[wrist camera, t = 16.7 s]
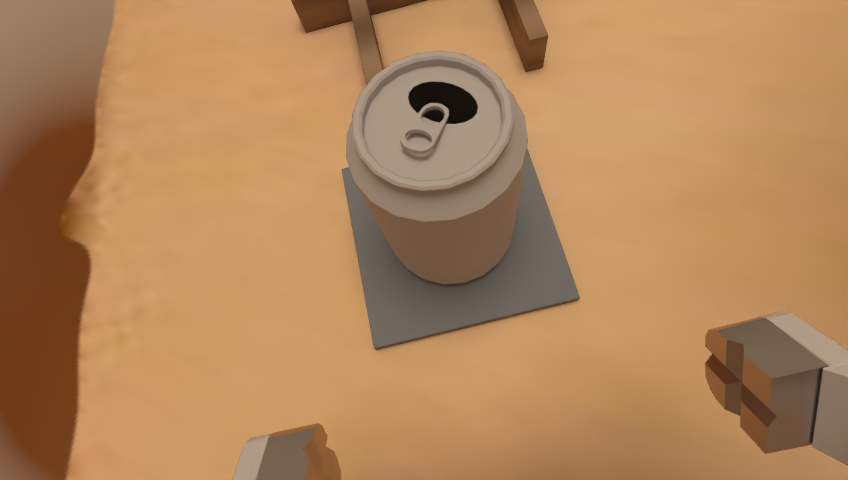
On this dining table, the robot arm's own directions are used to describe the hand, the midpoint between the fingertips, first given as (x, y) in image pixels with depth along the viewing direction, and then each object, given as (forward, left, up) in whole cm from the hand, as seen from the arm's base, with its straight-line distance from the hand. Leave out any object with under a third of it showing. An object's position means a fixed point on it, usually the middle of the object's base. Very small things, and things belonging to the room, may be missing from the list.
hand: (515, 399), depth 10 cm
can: (-9, -5, -17) cm, 20 cm away
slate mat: (-9, -5, -17) cm, 20 cm away
